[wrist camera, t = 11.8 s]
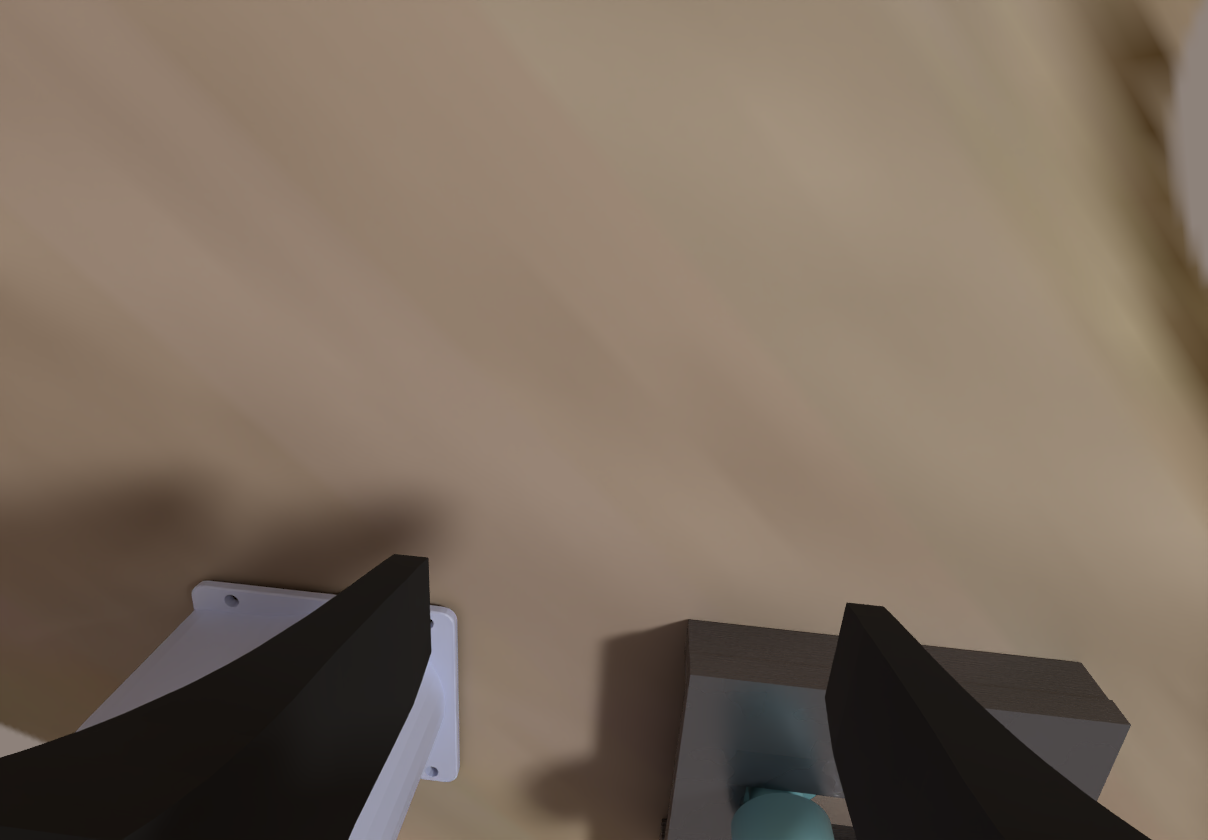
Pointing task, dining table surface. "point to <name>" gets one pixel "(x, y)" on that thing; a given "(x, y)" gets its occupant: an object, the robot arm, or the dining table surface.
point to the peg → (780, 817)
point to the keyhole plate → (801, 732)
